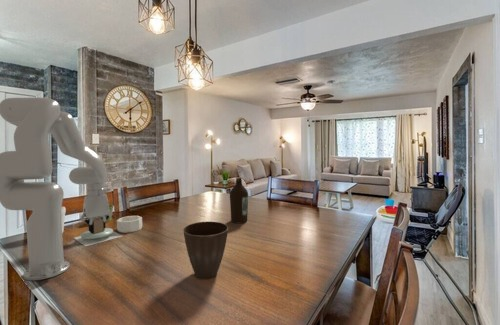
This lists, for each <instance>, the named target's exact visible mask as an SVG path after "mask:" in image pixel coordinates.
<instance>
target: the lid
mask: <svg viewBox="0 0 500 325" xmlns="http://www.w3.org/2000/svg"><path fill="white" fill-rule="evenodd" d="M93 225H94V233H91V232H90V231H89V229H88V230H85V231H82V233H80V236H81V238H84V239H94V238H101V237H105V236H108V235H110V234H112V233H113V231H114V230H113V228H111V227H109V228H108V227H106V228H105V231H104V228H103V219H101V218H98V217H96V218H93Z"/></svg>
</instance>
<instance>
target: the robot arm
mask: <svg viewBox="0 0 500 325" xmlns="http://www.w3.org/2000/svg"><path fill="white" fill-rule="evenodd" d="M0 116H1V118H2V119H3V121H4V120H5V121H6V122H7V123H8V124H11V125H13V126H16V128H15V130H14V133H13V142H14V149H15V150H10V151H8V150H7V151H3V152H0V204H1V206H2V207H4V208H5V209H7V210H10V211H31V212H32V213H31V214H30V216H29V218H28V219H27V221H26V225H25V227H26V229H25V230H26V237H27V238H26V240H27V253H28V254H27V255H28V256H27V259H28V269H27V270H25V271H24V272H23V279H24V280H26V281H41V280H47V279H50V278H53V277H56V276H58V275H61V274H63V273H64V272H66V271H68V270H69V268H70V262H69V261H67V260H65V259H64V257H65V256H64V240H63V233H62V222H61V209H62V207H63V201H64V189H63V188H62V186H60V184H58V183H56V182H51V181H30V182H29V181H27V180H43V179H47V178H48V177H50V176H51V175H52V174H53V167H54V166H53V161H52V155H51V150H50V145H49V134H51V135H52V136H53V138H54V140H55V143H56V144H57V146H58V148H59V150H60V152H61V153H62V154H63V155H65V156H67V157H70V158H73V159H76V160H79V161H81V162H83V163H85V164H87V166H79V167H75V168H73V169H71V170H70V172H69V174H68V178H69V180H70V181H71V183H73V184H75V185H86V195H85V196H84V199H83V208H82V214H81V216H80V217H79V220H80V221H82V222H85V224H87V225H88V230H89V231H90V232H91V233H94V225H93V219H97V218H98V217H101V219H103V228H104V231H105V228H107V226H106V223H107V222H106V220H107V219H108V218H109V217H110V216H111V215H112V216H113V213H114V212H113V211H112V212H111V211H110V209H109V205H110V204H109V198H108V195H107V193H109V189H107V188H106V181H107V179H108V170H107V168H106V165H105V163H104V160H103V158H102V157H101V156H100V155H99V154H98V153H97V152H95V151H94V150H93V149H92V148H90V147H89V146H87V145H86V144H85V143H84V141H83V138H82V135H81V133H80V130H79V128H78V125H77V123H76V121H75V119H74V117H73V116H72V114H71V113H70V112H67V111H62V110H61V105H60V103H59V102H58V101H56V100H55V99H52V98H49V97H8V98H5V99H2V101H0ZM25 180H26V181H25Z"/></svg>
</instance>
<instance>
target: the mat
mask: <svg viewBox="0 0 500 325" xmlns="http://www.w3.org/2000/svg"><path fill="white" fill-rule="evenodd" d="M121 237H123V235H122V234H121V233H118V232H116V231H114V230H113V233H112V234H110V235H108V236H105V237H101V238H94V239H84V238H81V235H79V236H75V237H73V239H75V240H76V241H77V242H78V243H80V244H81V245H83V246H84V247H88V246H91V245H95V244H99V243H103V242H107V241H111V240H114V239H118V238H121Z"/></svg>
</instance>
